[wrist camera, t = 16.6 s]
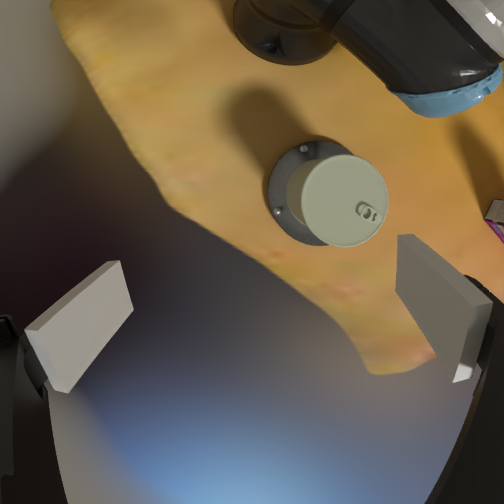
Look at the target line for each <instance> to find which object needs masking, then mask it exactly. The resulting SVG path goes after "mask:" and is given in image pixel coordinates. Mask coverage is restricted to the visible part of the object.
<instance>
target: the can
mask: <svg viewBox="0 0 504 504" xmlns="http://www.w3.org/2000/svg"><path fill="white" fill-rule="evenodd" d="M286 200H287V204H288V207H289V209H290V211H291V213H292V214H293V216H294V217H295V218H296V219H297V220H298V221H299V222H301V223H302V224H304V225H305V226H307V227H308V228H309V229H310V230H311V232H312V233H313V234H314V235H315V236H316V237H317V238H319V239H320V240H321V241H323V242H325V243H327V244H329V245H332V246H336V247H353V246H356V245H359V244H362V243H364V242H366V241H367V240H369V239H370V238H371V237H373V236H374V235H375V234H376V233H377V232H378V230H379V229H380V227H381V226H382V224H383V222H384V220H385V218H386V215H387V210H388V202H389V200H388V191H387V187H386V184H385V181H384V179H383V177H382V176H381V174H380V173H379V171H378V170H377V169H376V168H375V167H374V166H373V165H372V164H371V163H370V162H368V161H366V160H365V159H363V158H361V157H358V156H355V155H350V154H339V155H334V156H330V157H328V158H325V159H314V160H310V161H307V162H305V163H303V164H301V165H300V166H299V167H298V168H296V170H295V171H294V172H293V173H292V175H291V176H290V178H289V180H288V183H287V187H286Z"/></svg>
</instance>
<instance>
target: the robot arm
mask: <svg viewBox="0 0 504 504" xmlns="http://www.w3.org/2000/svg"><path fill="white" fill-rule="evenodd" d="M233 22H234V28H235V32H236V34H237V36H238V38H239V40H240V41H241V43H242V44H243V45H244V46H245V47H246V48H247V49H248V50H249V51H251V52H252V53H253V54H255V55H256V56H258V57H260V58H262V59H264V60H266V61H269V62H272V63H276V64H281V65H304V64H308V63H312V62H314V61H317V60H319V59H321V58H322V57H324V56H325V55H327V54H328V53H329V52H330V51H331V50H332V48H333V47H334V46H335V44H336V43H337V42H339V43H340V44H341V45H342V46H343V47H345V48H346V49H347V50H348V51H349V52H351V53H352V54H353V55H354V56H355V57H356V58H357V59H359V60H360V61H361V62H362V63H363V64H364V65H365V66H366V67H367V68H369V69H370V70H371V71H372V72H373V73H374V74H375V75H376V76H377V77H378V78H379V79H380V80H381V81H382V82H383V83H384V84H385V85H386V88H387V89H388V90H389V91H390V92H391V93H392V94H394V95H396V96H397V97H398V98H400V99H401V100H402V101H403V102H404V103H405V104H406V105H407V106H408V107H409V108H410V109H411V110H412V111H413V112H415V113H416V114H419V115H421V116H424V117H428V118H440V117H446V116H450V115H453V114H456V113H459V112H462V111H464V110H467V109H469V108H471V107H473V106H474V105H476V104H478V103H479V102H481V101H482V100H484V95H487V94H491V93H492V92H493V91H494V90H495V89H496V88H497V87H498V86H499V84H500V82H501V80H502V77H503V71H502V66H501V63H500V62H502V61H504V0H236V2H235V5H234V10H233ZM395 291H396V293H397V294H398V296H399V297H400V298H401V300H402V301H403V303H404V304H405V306H406V307H407V309H408V310H409V312H410V314H411V315H412V317H413V318H414V320H415V321H416V323H417V324H418V326H419V327H420V329H421V331H422V332H423V334H424V335H425V337H426V339H427V340H428V342H429V343H430V345H431V347H432V348H433V350H434V352H435V353H436V355H437V357H438V358H439V360H440V362H441V363H442V365H443V367H444V368H445V370H446V372H447V374H448V375H449V377H450V379H451V381H452V382H453V383H454V382H458V381H461V380H465V379H468V378H472V376H473V373H474V369H475V367H476V363H478V365H479V366H480V367H481V369H482V372H481V375H480V378H479V380H478V383H477V386H476V388H475V391H474V393H473V399H472V402H471V405H470V408H469V411H468V413H467V416H466V419H465V421H464V424H463V427H462V429H461V432H460V434H459V436H458V439H457V441H456V443H455V446H454V448H453V450H452V452H451V455H450V457H449V459H448V461H447V463H446V465H445V467H444V469H443V471H442V473H441V475H440V477H439V479H438V481H437V483H436V484H435V486H434V488H433V490H432V492H431V493H430V495H429V497H428V499H427V500H426V502H425V504H504V304H503V303H502V302H501V301H500V300H499V299H498V298H497V297H496V296H494V295H493V294H492V293H491V292H489V290H488V289H487V288H485V287H483V285H482V284H481V283H480V282H479V281H477V280H476V279H474V278H472V277H470V276H468V275H462V274H461V273H460V272H459V271H458V270H457V269H455V268H454V267H453V266H452V265H451V264H449V263H448V262H447V261H446V260H445V259H443V258H442V257H441V256H440V255H439V254H437V253H436V252H435V251H434V250H432V249H431V248H430V247H429V246H428V245H426V244H425V243H424V242H422V241H421V240H420V239H419V238H417V237H416V236H415V235H414V234H405V235H398V243H397V271H396V288H395ZM132 311H133V306H132V303H131V300H130V296H129V293H128V290H127V286H126V282H125V279H124V275H123V272H122V268H121V264H120V261H110V262H106V263H105V264H104V265H102V266H101V267H100V268H98V269H97V270H96V271H95V272H93V273H92V274H91V275H89V276H88V277H87V278H86V279H84V280H83V281H82V282H81V283H79V284H78V285H77V286H76V287H74V288H73V289H72V290H71V291H69V292H68V293H67V294H66V295H64V296H63V297H62V298H61V299H60V300H58V301H57V302H56V303H55V304H53V305H52V306H51V307H50V308H49V309H48V310H46V311H45V312H44V313H43V314H42V315H41V316H40V317H38V318H37V319H36V320H35V321H34V322H32V323H31V324H30V325H29V326H28V327H27V328H25V329H24V330H25V333H24V334H23V336H21V337H20V336H19V334H18V332H17V329H16V327H15V325H14V323H13V320H12V318H11V316H10V315H2V316H0V504H68V502H67V498H66V495H65V491H64V487H63V483H62V479H61V475H60V471H59V465H58V461H57V456H56V450H55V445H54V438H53V432H52V426H51V419H50V410H49V401H48V391H47V389H46V387H45V385H44V382H45V381H46V380H47V379H49V381H50V383H51V385H52V386H53V388H54V390H56V391H60V392H65V393H69V392H70V390H71V389H72V388H73V386H74V385H75V384H76V382H77V381H78V379H79V378H80V377H81V376H82V374H83V373H84V372H85V370H86V369H87V368H88V367H89V365H90V364H91V363H92V361H93V360H94V359H95V357H96V356H97V355H98V354H99V352H100V351H101V350H102V349H103V347H104V346H105V345H106V343H107V342H108V341H109V339H110V338H111V337H112V336H113V334H114V333H115V332H116V331H117V330H118V328H119V327H120V326H121V325H122V323H123V322H124V321H125V319H126V318H127V317H128V316H129V315H130V314H131V312H132Z"/></svg>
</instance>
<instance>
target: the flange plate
mask: <svg viewBox="0 0 504 504" xmlns="http://www.w3.org/2000/svg"><path fill="white" fill-rule="evenodd" d="M339 154H350V155H353V154H352V153H351V152H350V151H349V150H347V149H346V148H344V147H342V146H340V145H338V144H335V143H331V142H326V141H312V142H307V143H303V144H301V145H298V146H296V147H294V148H293V149H291V150H289V151H288V152H287V153H286V154H284V155H283V156H282V157H281V159H280V160H279V161H278V162H277V164H276V165H275V167H274V169H273V171H272V173H271V176H270V179H269V184H268V201H269V206H270V209H271V212H272V214H273V216H274V218H275V220H276V221H277V223H278V224H279V226H280V227H281V228H282V229H283V230H284V231H285V232H286V233H287V234H288V235H289V236H291V237H292V238H294V239H295V240H297V241H299V242H302V243H305V244H309V245H314V246H325V245H329V244H327V243H325V242H323V241H321V240H320V239H319V238H317V237H316V236H315V235H314V234H313V233H312V232H311V230H310V229H309V228H308V227H307V226H305V225H304V224H302V223H301V222H299V221H298V220H297V219H296V218H295V217H294V216H293V214H292V213H291V211H290V209H289V207H288V204H287V200H286V187H287V183H288V180H289V178H290V176H291V175H292V173H293V172H294V171H295V170H296V168H298V167H299V166H300V165H301V164H303V163H305V162H307V161H310V160H314V159H325V158H328V157H330V156H334V155H339Z"/></svg>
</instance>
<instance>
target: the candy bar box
mask: <svg viewBox="0 0 504 504" xmlns="http://www.w3.org/2000/svg"><path fill="white" fill-rule="evenodd" d="M484 221H485V222H486V223H487V224H488V225H489V226H490V227H491V229H492V230H493V231H494V232H495V233H496V235H497V236H498V237H499V238H500V239H501V241H502V242H503V243H504V200H499V199H494V200H493V202H492V204H491V206H490V208H489V210H488V212H487V214H486V216H485V218H484Z"/></svg>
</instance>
